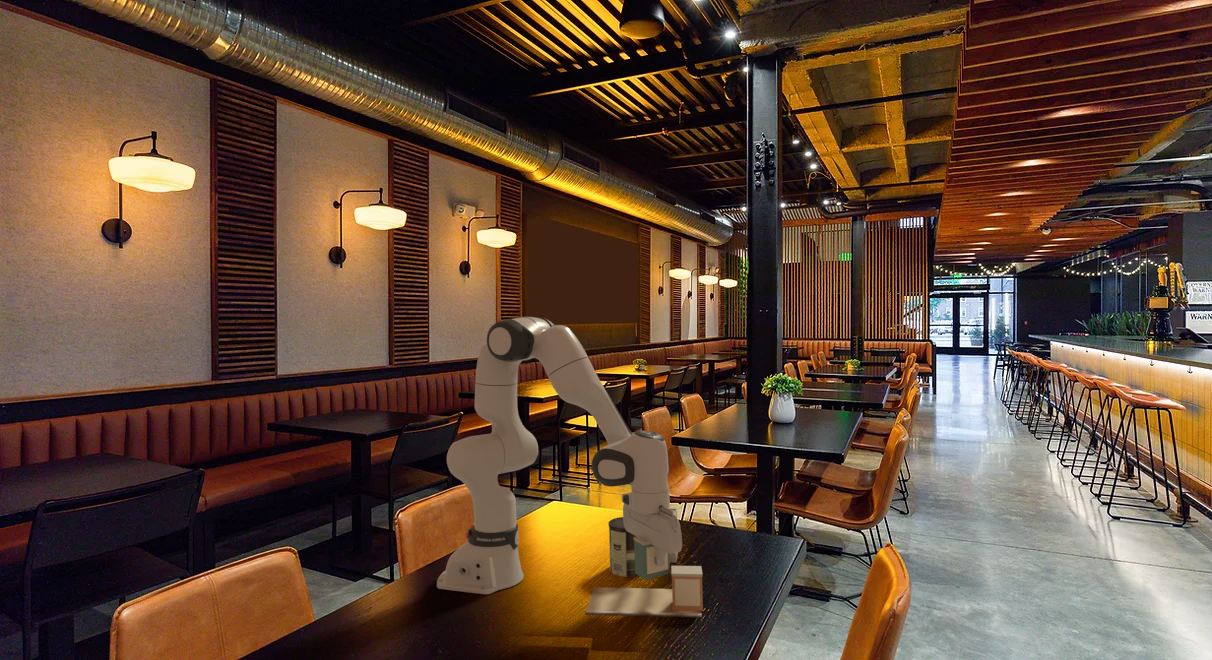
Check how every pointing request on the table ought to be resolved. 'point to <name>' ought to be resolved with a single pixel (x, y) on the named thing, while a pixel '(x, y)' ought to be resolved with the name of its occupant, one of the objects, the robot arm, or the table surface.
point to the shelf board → (635, 602)
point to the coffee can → (621, 549)
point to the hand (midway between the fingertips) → (652, 560)
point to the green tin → (648, 560)
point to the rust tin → (687, 588)
